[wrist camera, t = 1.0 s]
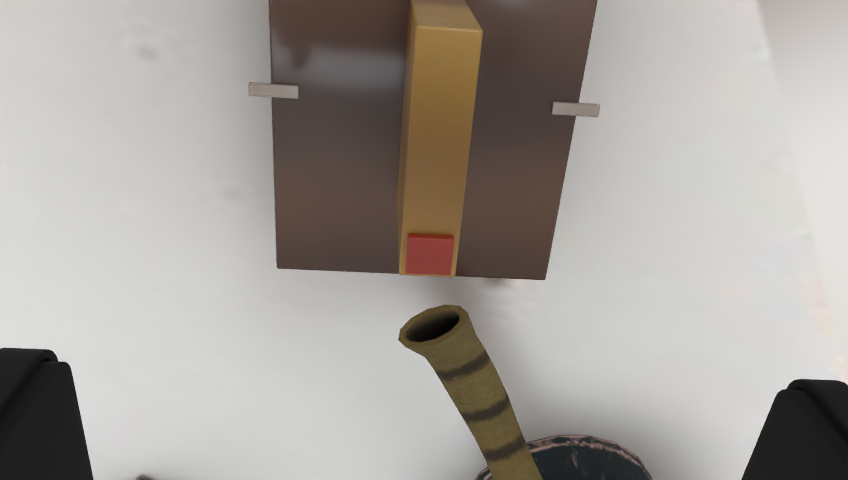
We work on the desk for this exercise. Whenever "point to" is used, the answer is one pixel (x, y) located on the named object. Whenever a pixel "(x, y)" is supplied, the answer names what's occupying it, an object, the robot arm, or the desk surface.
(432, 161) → the tap handle
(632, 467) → the teapot
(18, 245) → the desk surface
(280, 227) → the tap block
